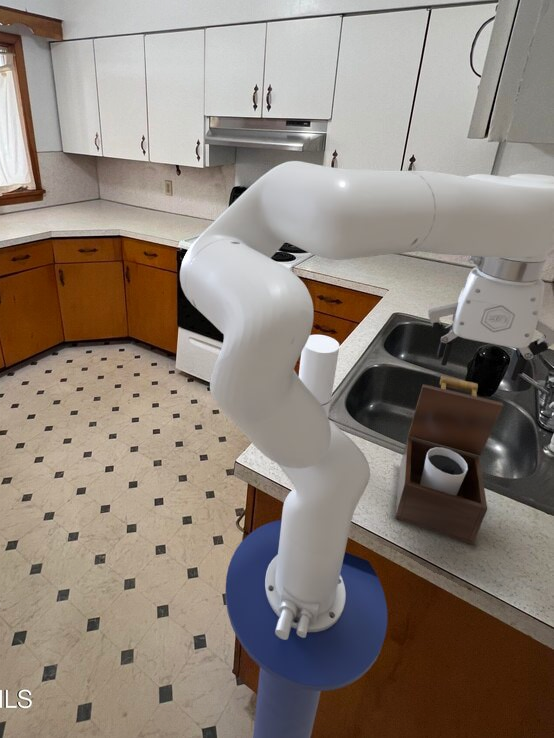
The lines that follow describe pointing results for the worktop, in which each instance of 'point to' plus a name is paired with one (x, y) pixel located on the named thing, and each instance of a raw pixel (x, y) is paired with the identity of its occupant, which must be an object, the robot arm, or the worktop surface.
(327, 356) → the cylindrical container
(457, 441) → the lid
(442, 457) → the white cup
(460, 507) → the chest
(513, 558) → the worktop surface
